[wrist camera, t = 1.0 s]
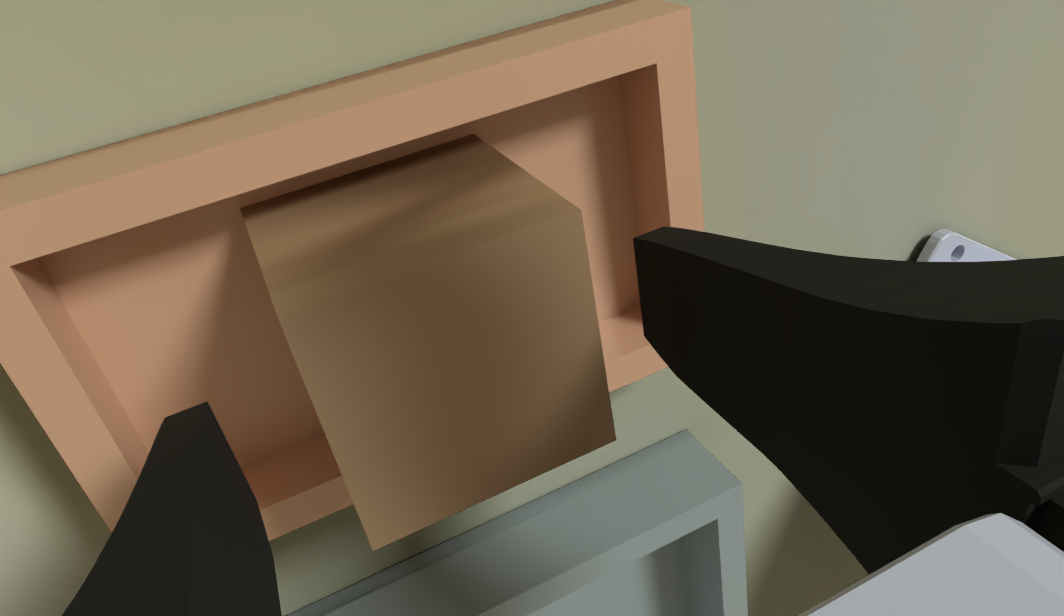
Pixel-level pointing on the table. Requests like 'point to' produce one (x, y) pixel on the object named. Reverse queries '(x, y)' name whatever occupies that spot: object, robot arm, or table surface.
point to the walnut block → (438, 328)
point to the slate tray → (585, 550)
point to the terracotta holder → (294, 163)
